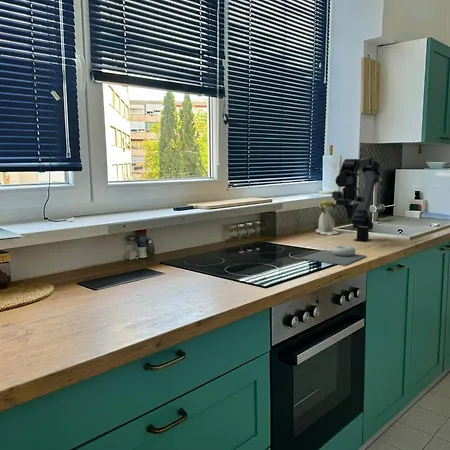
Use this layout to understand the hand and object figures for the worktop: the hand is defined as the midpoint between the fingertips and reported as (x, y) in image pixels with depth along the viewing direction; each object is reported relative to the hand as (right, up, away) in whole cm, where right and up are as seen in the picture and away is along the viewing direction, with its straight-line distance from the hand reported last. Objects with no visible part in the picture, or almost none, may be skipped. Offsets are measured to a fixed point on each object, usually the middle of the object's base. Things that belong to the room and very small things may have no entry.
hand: (349, 218), depth 213 cm
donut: (-5, -14, -16) cm, 22 cm away
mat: (-14, -17, -24) cm, 33 cm away
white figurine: (-3, -8, +35) cm, 36 cm away
